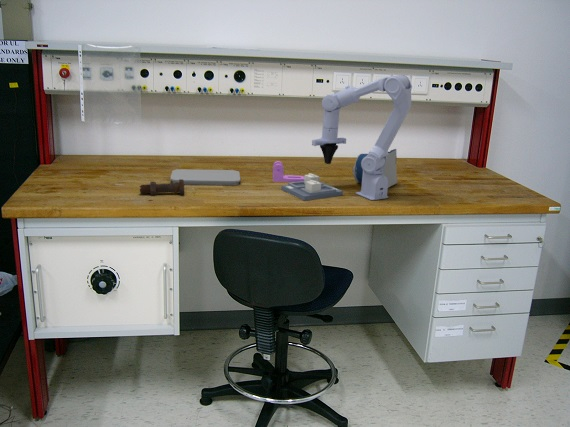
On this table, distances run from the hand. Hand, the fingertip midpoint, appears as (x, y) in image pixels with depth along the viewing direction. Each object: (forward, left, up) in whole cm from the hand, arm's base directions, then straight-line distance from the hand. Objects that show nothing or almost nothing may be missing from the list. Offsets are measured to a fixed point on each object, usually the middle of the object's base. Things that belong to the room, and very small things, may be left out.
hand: (327, 163), depth 214 cm
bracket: (+14, +7, -10) cm, 19 cm away
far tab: (0, +7, -7) cm, 10 cm away
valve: (-5, -20, -10) cm, 22 cm away
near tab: (-8, +12, -7) cm, 16 cm away
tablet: (+27, +37, -10) cm, 47 cm away
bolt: (+16, +59, -10) cm, 62 cm away
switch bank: (-4, +9, -9) cm, 14 cm away
